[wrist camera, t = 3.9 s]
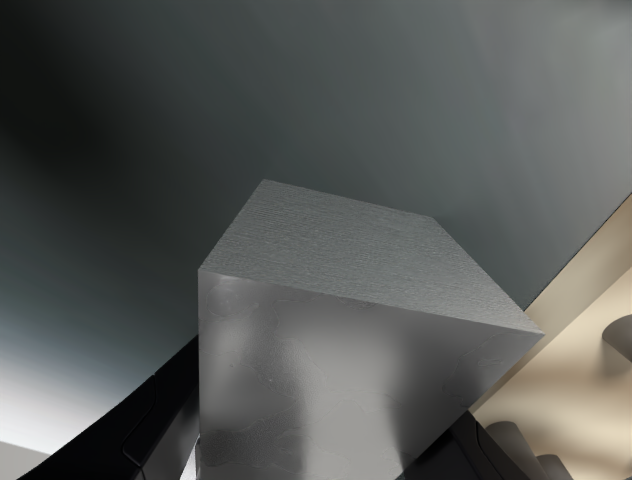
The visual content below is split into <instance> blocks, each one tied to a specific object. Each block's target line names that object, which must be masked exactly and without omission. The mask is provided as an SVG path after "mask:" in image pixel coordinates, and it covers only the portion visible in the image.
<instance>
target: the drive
mask: <svg viewBox="0 0 632 480" xmlns="http://www.w3.org/2000/svg"><path fill="white" fill-rule="evenodd" d="M198 315H199V399H200V480H395V479H396V478H397V477H398V476H399V475H400V474H401V473H402V472H403V471H404V470H405V469H406V468H407V467H408V466H409V465H410V464H411V463H412V462H414V461H415V460H416V459H417V458H418V457H419V456H420V455H421V454H422V453H423V452H424V451H425V450H426V449H427V448H428V447H429V446H430V445H431V444H432V443H433V442H434V441H435V440H436V439H437V438H438V437H440V436H441V435H442V434H443V433H444V432H445V431H446V430H447V429H448V428H449V427H450V426H451V425H452V424H453V423H454V422H455V421H456V420H457V419H458V418H459V417H460V416H461V415H462V414H463V413H465V412H466V411H467V410H468V409H469V408H470V407H471V406H472V405H473V404H474V403H475V402H476V401H477V400H478V399H479V398H480V397H481V396H482V395H483V394H484V393H485V392H486V391H487V390H488V389H490V388H491V387H492V386H493V385H494V384H495V383H496V382H497V381H498V380H499V379H500V378H501V377H502V376H503V375H504V374H505V373H506V372H507V371H508V370H509V369H510V368H511V367H512V366H513V365H515V364H516V363H517V362H518V361H519V360H520V359H521V358H522V357H523V356H524V355H525V354H526V353H527V352H528V351H529V350H530V349H531V348H532V347H533V346H534V345H535V344H536V343H537V342H538V341H539V340H541V339H542V338H543V337H544V336H545V335H546V334H545V333H544V332H543V331H542V330H541V329H540V328H539V327H538V326H537V325H536V324H535V323H534V322H533V321H532V320H531V319H530V318H529V317H528V316H527V315H526V314H525V313H524V312H523V311H522V310H521V309H520V308H519V307H518V306H517V304H516V303H515V302H514V301H513V300H512V299H511V298H510V297H509V296H508V295H507V294H506V293H505V292H504V291H503V290H502V289H501V288H500V287H499V286H498V285H497V284H496V283H495V282H494V281H493V280H492V279H491V278H490V277H489V276H488V274H487V273H486V272H485V271H484V270H483V269H482V268H481V267H480V266H479V265H478V264H477V263H476V262H475V261H474V260H473V259H472V258H471V257H470V256H469V255H468V254H467V253H466V252H465V251H464V250H463V249H462V248H461V247H460V246H459V244H458V243H457V242H456V241H455V240H454V239H453V238H452V237H451V236H450V235H449V234H448V233H447V232H446V231H445V230H444V229H443V228H442V227H441V226H440V225H439V224H438V223H437V222H436V221H435V220H434V219H433V218H432V217H429V216H425V215H420V214H416V213H411V212H407V211H403V210H398V209H394V208H390V207H385V206H381V205H377V204H372V203H368V202H363V201H359V200H355V199H350V198H346V197H342V196H337V195H333V194H328V193H324V192H320V191H315V190H311V189H307V188H302V187H298V186H293V185H289V184H285V183H280V182H276V181H272V180H267V179H263V180H262V182H261V183H260V185H259V186H258V187H257V189H256V190H255V191H254V193H253V194H252V196H251V197H250V198H249V200H248V201H247V203H246V204H245V205H244V207H243V208H242V210H241V211H240V212H239V214H238V215H237V216H236V218H235V219H234V221H233V222H232V223H231V225H230V226H229V228H228V229H227V230H226V232H225V233H224V235H223V236H222V237H221V239H220V240H219V241H218V243H217V244H216V246H215V247H214V248H213V250H212V251H211V253H210V254H209V255H208V257H207V258H206V260H205V261H204V262H203V264H202V265H201V267H200V268H199V269H198Z"/></svg>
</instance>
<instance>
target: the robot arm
mask: <svg viewBox="0 0 632 480" xmlns="http://www.w3.org/2000/svg"><path fill="white" fill-rule="evenodd" d="M199 433H200V399H199V334H198V335H196V336H195V337H194V338H193V339H192V340H191V341H190V342H189V343H187V344H186V345H185V346H184V347H183V348H182V349H181V350H180V351H179V352H177V353H176V354H175V355H174V356H173V357H172V358H171V359H170V360H169V361H167V362H166V363H165V364H164V365H163V366H162V367H161V368H160V369H158V370H157V371H156V372H155V373H154V375H152V376H150V377H149V378H148V379H147V380H146V381H145V382H144V383H143V384H142V385H140V386H139V387H138V388H137V389H136V390H135V391H133V392H132V393H131V394H130V395H129V396H128V397H126V398H125V399H124V400H123V401H122V402H120V403H119V404H118V405H117V406H115V407H114V408H113V409H111V410H110V411H109V412H108V413H106V414H105V415H104V416H103V417H101V418H100V419H99V420H97V421H96V422H95V423H93V424H92V425H91V426H89V427H88V428H87V429H85V430H84V431H83V432H81V433H80V434H79V435H78V436H76V437H75V438H74V439H72V440H71V441H70V442H68V443H67V444H66V445H64V446H63V447H62V448H60V449H59V450H58V451H56V452H55V453H54V454H53V455H51V456H50V457H49V458H47V459H46V460H45V461H43V462H42V463H41V464H39V465H38V466H37V467H35V468H33V469H32V470H31V471H29V472H28V473H26V474H24V475H23V476H21V477H20V478H18V479H17V480H180V477H181V475H182V473H183V470H184V468H185V466H186V463H187V461H188V459H189V456H190V454H191V451H192V449H193V447H194V444H195V442H196V440H197V437H198V435H199ZM195 460H196V480H200V438H198V440H197V443H196V446H195ZM404 476H405V480H531V479H530V478H529V477H528V476H527V475H526V474H525V473H524V472H523V471H522V470H521V469H520V467H519V466H518V465H517V464H516V463H515V462H514V461H513V460H512V459H511V458H510V457H509V456H508V455H507V454H506V452H505V451H504V450H503V449H502V448H501V447H500V446H499V445H498V444H497V442H496V441H495V440H494V439H493V438H492V437H491V436H490V435H489V433H488V432H487V431H486V430H485V429H484V428H483V426H482V425H481V424H480V423H479V422H478V421H477V420H476V419H475V417H474V416H473V415H472V414H471V413H470V411H469V410H467V411H466V412H465V413H463V414H462V415H461V416H460V417H459V418H458V419H457V420H456V421H455V422H454V423H453V424H452V425H451V426H450V427H449V428H448V429H447V430H446V431H445V432H444V433H443V434H442V435H441V436H440V437H438V438H437V439H436V440H435V441H434V442H433V443H432V444H431V445H430V446H429V447H428V448H427V449H426V450H425V451H424V452H423V453H422V454H421V455H420V456H419V457H418V458H417V459H416V460H415V461H414V462H412V463H411V464H410V465H409V466H408V467H407V468H406V469H405V470H404Z"/></svg>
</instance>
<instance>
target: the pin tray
mask: <svg viewBox="0 0 632 480" xmlns="http://www.w3.org/2000/svg"><path fill="white" fill-rule="evenodd" d="M524 313H525V314H526V315H527V316H528V317H529V318H530V319H531V320H532V321H533V322H534V323H535V324H536V325H537V326H538V327H539V328H540V329H541V330H542V331H543V332H544V333H545V334H546V335H545V336H544V337H543V338H542V339H541V340H539V341H538V342H537V343H536V344H535V345H534V346H533V347H532V348H531V349H530V350H529V351H528V352H527V353H526V354H525V355H524V356H523V357H522V358H521V359H520V360H519V361H518V362H517V363H516V364H515V365H513V366H512V367H511V368H510V369H509V370H508V371H507V372H506V373H505V374H504V375H503V376H502V377H501V378H500V379H499V380H498V381H497V382H496V383H495V384H494V385H493V386H492V387H491V388H490V389H488V390H487V391H486V392H485V393H484V394H483V395H482V396H481V397H480V398H479V399H478V400H477V401H476V402H475V403H474V404H473V405H472V406H471V407H470V408H469V409H468V410H469V411H470V413H471V414H472V415H473V416H474V417H475V419H476V420H477V421H478V422H479V423H480V424H481V425H482V426H483V428H484V429H485V430H486V431H487V432H488V433H489V435H490V436H491V437H492V438H493V439H494V440H495V441H496V442H497V444H498V445H499V446H500V447H501V448H502V449H503V450H504V451H505V452H506V454H507V455H508V456H509V457H510V458H511V459H512V460H513V461H514V462H515V463H516V464H517V465H518V466H519V467H520V469H521V470H522V471H523V472H524V473H525V474H526V475H527V476H528V477H529V478H530V479H531V480H624V479H626V478H628V477H630V476H632V194H631V195H630V196H629V197H628V198H627V199H626V201H625V202H624V203H623V204H622V205H621V206H620V207H619V208H618V209H617V210H616V211H615V213H614V214H613V215H612V216H611V217H610V218H609V219H608V220H607V221H606V222H605V224H604V225H603V226H602V227H601V228H600V229H599V230H598V231H597V232H596V233H595V235H594V236H593V237H592V238H591V239H590V240H589V241H588V242H587V243H586V244H585V245H584V247H583V248H582V249H581V250H580V251H579V252H578V253H577V254H576V255H575V256H574V258H573V259H572V260H571V261H570V262H569V263H568V264H567V265H566V266H565V267H564V269H563V270H562V271H561V272H560V273H559V274H558V275H557V276H556V277H555V278H554V279H553V281H552V282H551V283H550V284H549V285H548V286H547V287H546V288H545V289H544V290H543V292H542V293H541V294H540V295H539V296H538V297H537V298H536V299H535V300H534V301H533V303H532V304H531V305H530V306H529V307H528V308H527V309H526V310H525V311H524Z"/></svg>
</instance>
